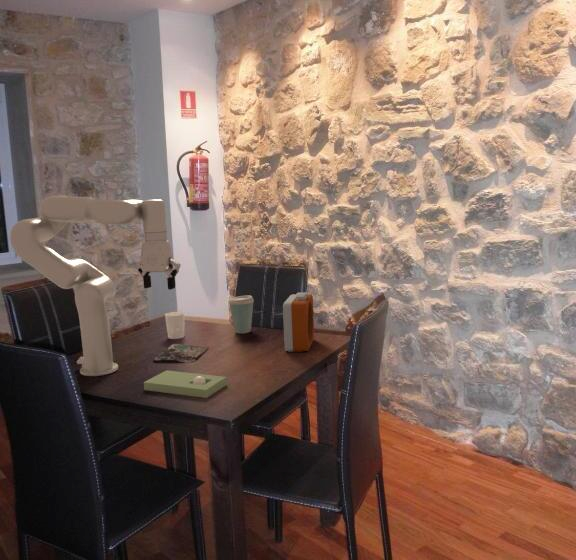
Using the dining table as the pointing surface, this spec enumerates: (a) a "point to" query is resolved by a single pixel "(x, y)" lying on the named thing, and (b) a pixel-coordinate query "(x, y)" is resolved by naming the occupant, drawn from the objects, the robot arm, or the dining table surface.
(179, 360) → the terrain model
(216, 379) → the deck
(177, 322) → the white cup
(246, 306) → the disposable coffee cup
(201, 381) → the ball
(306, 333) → the orange and grey box
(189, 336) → the dining table surface
